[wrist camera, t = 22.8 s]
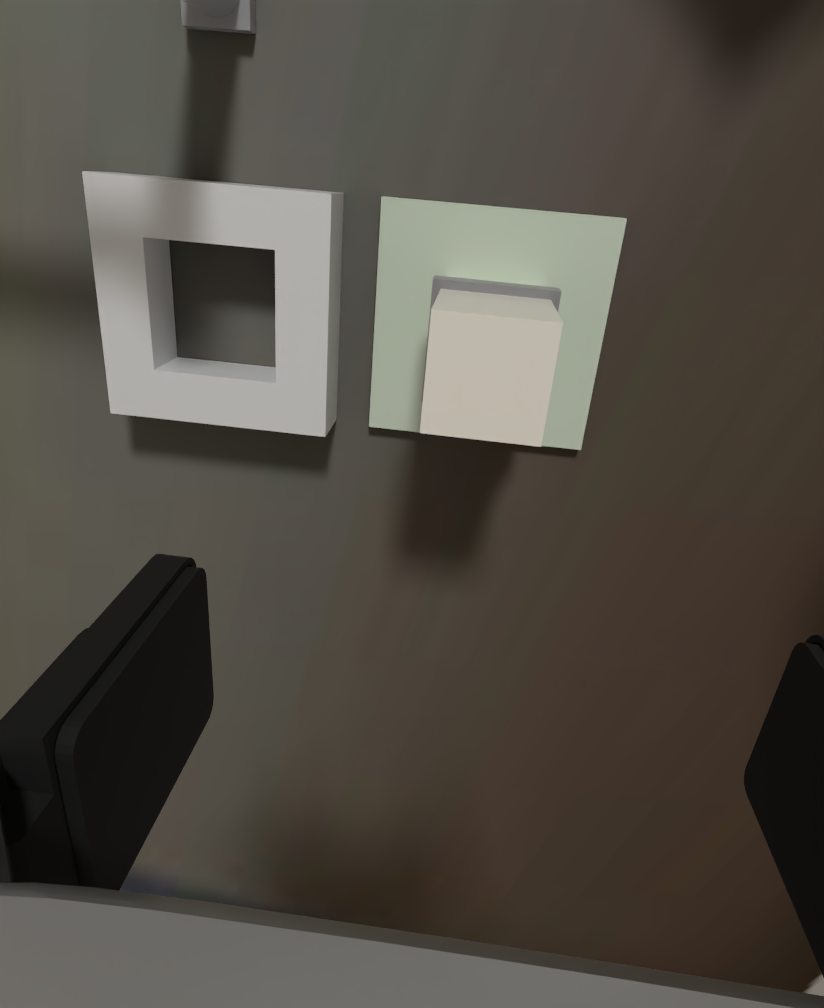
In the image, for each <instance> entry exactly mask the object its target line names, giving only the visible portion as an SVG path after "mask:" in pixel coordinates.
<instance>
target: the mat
mask: <svg viewBox="0 0 824 1008" xmlns="http://www.w3.org/2000/svg"><path fill="white" fill-rule="evenodd" d="M626 221H627V219H626V218H619V217H607V216H596V215H585V214H574V213H563V212H552V211H541V210H529V209H518V208H507V207H496V206H485V205H474V204H463V203H452V202H440V201H429V200H418V199H407V198H396V197H385V196H382V197H381V214H380V233H379V251H378V270H377V288H376V306H375V325H374V343H373V362H372V380H371V398H370V417H369V427H375V428H385V429H394V430H403V431H412V432H420V424H421V413H422V403H423V402H421V401H422V390H423V379H424V369H425V358H426V347H427V336H428V326H429V315H430V304H431V293H432V283H433V278H434V276H435V275H437V276H447V277H457V278H466V279H476V280H486V281H496V282H506V283H516V284H526V285H535V286H545V287H555V288H560V290H561V291H562V292H561V298H560V304H559V309H558V314H559V316H560V318H561V320H562V322H563V327H562V333H561V338H560V344H559V349H558V355H557V361H556V366H555V372H554V378H553V383H552V389H551V394H550V400H549V406H548V411H547V417H546V423H545V428H544V434H543V439H542V445H541V446H548V447H557V448H566V449H575V450H581V446H582V441H583V436H584V431H585V426H586V421H587V416H588V411H589V406H590V401H591V396H592V391H593V386H594V381H595V376H596V371H597V366H598V361H599V356H600V351H601V346H602V341H603V336H604V331H605V326H606V321H607V316H608V311H609V306H610V301H611V296H612V291H613V286H614V281H615V276H616V271H617V266H618V261H619V256H620V251H621V246H622V241H623V236H624V231H625V226H626Z"/></svg>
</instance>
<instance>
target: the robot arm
mask: <svg viewBox="0 0 824 1008" xmlns="http://www.w3.org/2000/svg"><path fill="white" fill-rule="evenodd" d="M212 706H213V679H212V662H211V646H210V630H209V613H208V597H207V581H206V573H205V570H204V569H203V568H197V567H196V563H195V561H194V560H193V559H192V558H188V557H180V556H172V555H164V554H156V555H155V556H153V557H152V558H151V559H150V560H149V562H148V563H147V564H146V565H145V566H144V567H143V568H142V569H141V570H140V572H139V573H138V574H137V575H136V576H135V577H134V578H133V579H132V580H131V582H130V583H129V584H128V585H127V586H126V587H125V588H124V589H123V590H122V592H121V593H120V594H119V595H118V596H117V597H116V598H115V599H114V600H113V602H112V603H111V604H110V605H109V606H108V607H107V608H106V609H105V610H104V612H103V613H102V614H101V615H100V616H99V617H98V618H97V619H96V620H95V622H94V623H93V624H92V625H91V626H90V627H89V628H87V629H85V630H83V631H82V632H81V633H80V634H79V635H78V636H77V637H76V638H75V639H74V640H73V641H72V642H71V643H70V644H69V645H68V647H67V648H66V649H65V650H64V651H63V652H62V653H61V654H60V655H59V656H58V658H57V659H56V660H55V661H54V662H53V663H52V664H51V665H50V666H49V667H48V669H47V670H46V671H45V672H44V673H43V674H42V675H41V676H40V677H39V678H38V680H37V681H36V682H35V683H34V684H33V685H32V686H31V687H30V688H29V689H28V691H27V692H26V693H25V694H24V695H23V696H22V697H21V698H20V699H19V700H18V701H17V703H16V704H15V705H14V706H13V707H12V708H11V709H10V710H9V711H8V712H7V714H6V715H5V716H4V717H3V718H2V719H1V720H0V1008H824V996H818V995H812V994H806V993H799V992H793V991H787V990H781V989H774V988H768V987H762V986H755V985H749V984H743V983H737V982H730V981H724V980H718V979H711V978H705V977H699V976H693V975H686V974H680V973H674V972H667V971H661V970H655V969H649V968H642V967H636V966H630V965H623V964H617V963H610V962H604V961H597V960H591V959H584V958H578V957H571V956H565V955H558V954H552V953H545V952H539V951H532V950H526V949H519V948H513V947H506V946H500V945H493V944H487V943H480V942H473V941H467V940H460V939H454V938H447V937H441V936H434V935H428V934H421V933H414V932H408V931H401V930H394V929H388V928H381V927H374V926H367V925H361V924H354V923H347V922H340V921H333V920H327V919H320V918H313V917H306V916H300V915H293V914H286V913H279V912H272V911H266V910H259V909H252V908H245V907H239V906H232V905H225V904H218V903H211V902H203V901H196V900H188V899H180V898H172V897H165V896H157V895H149V894H141V893H134V892H126V891H119V890H120V888H121V886H122V884H123V882H124V880H125V878H126V876H127V874H128V872H129V870H130V869H131V867H132V865H133V863H134V861H135V859H136V857H137V855H138V853H139V851H140V849H141V848H142V846H143V844H144V842H145V840H146V838H147V836H148V834H149V832H150V830H151V828H152V827H153V825H154V823H155V821H156V819H157V817H158V815H159V813H160V811H161V809H162V807H163V806H164V804H165V802H166V800H167V798H168V796H169V794H170V792H171V790H172V788H173V786H174V785H175V783H176V781H177V779H178V777H179V775H180V773H181V771H182V769H183V767H184V765H185V764H186V762H187V760H188V758H189V756H190V754H191V752H192V750H193V748H194V746H195V744H196V743H197V741H198V739H199V737H200V735H201V733H202V731H203V729H204V727H205V725H206V723H207V721H208V719H209V717H210V714H211V711H212ZM744 785H745V790H746V793H747V796H748V799H749V801H750V803H751V806H752V808H753V810H754V813H755V815H756V818H757V820H758V822H759V825H760V827H761V829H762V832H763V834H764V837H765V839H766V841H767V844H768V846H769V848H770V851H771V853H772V856H773V858H774V860H775V863H776V865H777V868H778V870H779V872H780V875H781V877H782V879H783V882H784V884H785V887H786V889H787V891H788V894H789V896H790V898H791V901H792V903H793V906H794V908H795V910H796V913H797V915H798V917H799V920H800V922H801V925H802V927H803V929H804V932H805V934H806V936H807V939H808V941H809V944H810V946H811V948H812V951H813V953H814V955H815V958H816V960H817V963H818V965H819V967H820V970H821V972H822V974H823V977H824V636H821V635H813V636H810V637H809V638H808V639H807V640H806V642H805V643H798V644H797V645H796V646H795V647H794V649H793V651H792V653H791V656H790V658H789V661H788V663H787V666H786V668H785V671H784V673H783V676H782V678H781V681H780V683H779V686H778V688H777V691H776V693H775V696H774V698H773V701H772V703H771V706H770V708H769V711H768V713H767V716H766V718H765V721H764V723H763V726H762V728H761V731H760V733H759V736H758V738H757V741H756V743H755V746H754V748H753V751H752V753H751V756H750V758H749V761H748V763H747V766H746V769H745V774H744Z"/></svg>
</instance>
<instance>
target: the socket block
mask: <svg viewBox="0 0 824 1008" xmlns="http://www.w3.org/2000/svg"><path fill="white" fill-rule="evenodd" d="M181 14H182V26H184V27H186V28H188V29H196V30H209V31H222V32H235V33H248V34H256V19H255V0H181ZM82 174H83V183H84V191H85V200H86V208H87V217H88V225H89V234H90V242H91V251H92V259H93V267H94V276H95V284H96V293H97V301H98V310H99V318H100V327H101V335H102V344H103V352H104V361H105V369H106V378H107V386H108V395H109V403H110V412H111V413H113V414H122V415H131V416H140V417H149V418H158V419H167V420H176V421H185V422H194V423H203V424H212V425H221V426H230V427H239V428H248V429H257V430H266V431H275V432H284V433H293V434H302V435H311V436H320V437H326V435H327V434H328V432H329V431H330V429H331V427H332V426H333V424H334V423H335V421H336V420H337V389H338V359H339V328H340V297H341V266H342V235H343V204H344V193H340V192H329V191H318V190H307V189H296V188H285V187H273V186H262V185H251V184H240V183H229V182H218V181H207V180H195V179H184V178H173V177H162V176H151V175H140V174H129V173H118V172H91V171H82ZM169 240H176V241H186V242H197V243H207V244H218V245H228V246H239V247H249V248H260V249H270V250H275V332H276V367H267V366H257V365H248V364H238V363H229V362H220V361H210V360H201V359H191V358H182V357H177V344H176V330H175V316H174V302H173V288H172V274H171V260H170V246H169Z"/></svg>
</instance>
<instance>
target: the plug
mask: <svg viewBox="0 0 824 1008" xmlns="http://www.w3.org/2000/svg"><path fill="white" fill-rule="evenodd" d="M561 292H562V291H561V290H560V288H555V287H545V286H535V285H526V284H516V283H506V282H496V281H486V280H476V279H466V278H457V277H447V276H437V275H435V276H434V278H433V283H432V293H431V304H430V315H429V326H428V336H427V347H426V358H425V369H424V379H423V390H422V401H421V402H423V403H422V413H421V424H420V433H424V434H432V435H441V436H450V437H458V438H467V439H476V440H485V441H493V442H502V443H511V444H519V445H528V446H537V447H541V445H542V439H543V434H544V428H545V423H546V417H547V411H548V406H549V400H550V394H551V389H552V383H553V378H554V372H555V366H556V361H557V355H558V349H559V344H560V338H561V333H562V327H563V322H562V320H561V318H560V316H559V314H558V309H559V304H560V298H561Z"/></svg>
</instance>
